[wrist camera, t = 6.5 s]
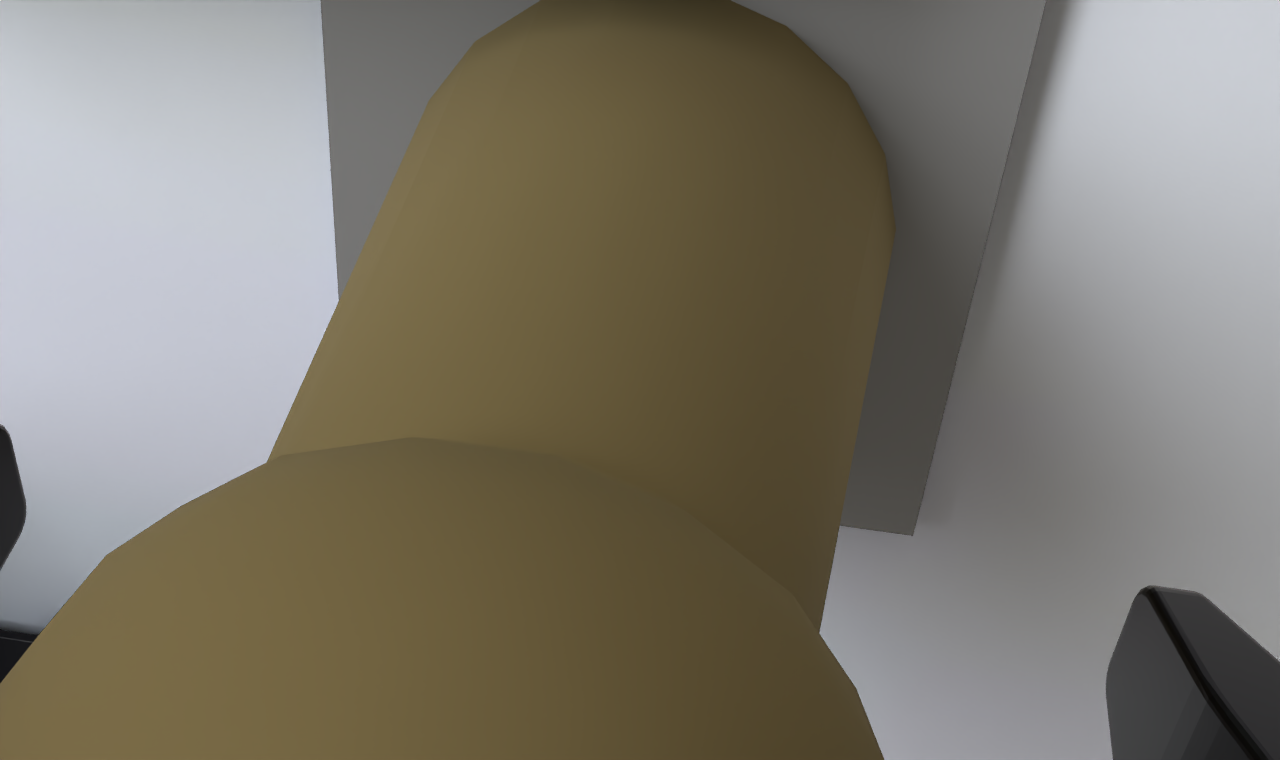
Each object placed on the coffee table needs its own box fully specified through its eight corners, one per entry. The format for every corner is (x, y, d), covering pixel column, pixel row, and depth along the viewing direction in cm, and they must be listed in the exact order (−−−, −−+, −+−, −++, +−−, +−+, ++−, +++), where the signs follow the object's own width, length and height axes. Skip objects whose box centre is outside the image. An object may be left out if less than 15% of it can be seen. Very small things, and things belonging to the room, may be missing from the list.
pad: (910, 518, 17) (912, 536, 16) (357, 441, 17) (348, 455, 17) (1058, -82, 13) (1064, -75, 12) (325, -158, 13) (311, -154, 13)
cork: (446, 440, 17) (-43, 1441, 7) (361, -5, 14) (-678, 713, 4) (889, 442, 16) (996, 1592, 6) (903, -36, 13) (1152, 796, 3)
